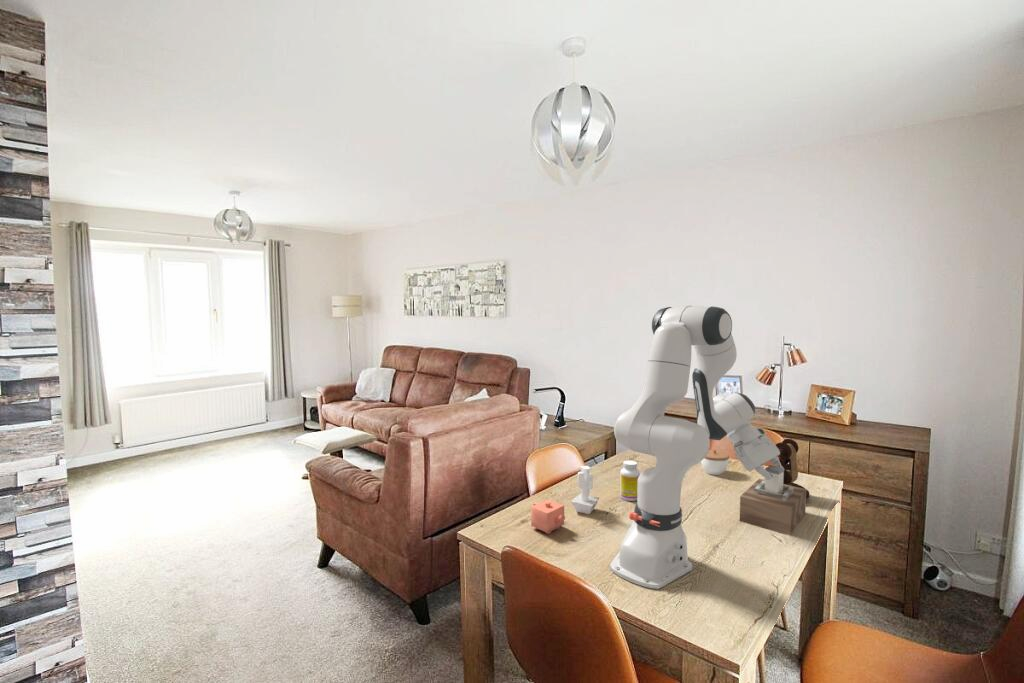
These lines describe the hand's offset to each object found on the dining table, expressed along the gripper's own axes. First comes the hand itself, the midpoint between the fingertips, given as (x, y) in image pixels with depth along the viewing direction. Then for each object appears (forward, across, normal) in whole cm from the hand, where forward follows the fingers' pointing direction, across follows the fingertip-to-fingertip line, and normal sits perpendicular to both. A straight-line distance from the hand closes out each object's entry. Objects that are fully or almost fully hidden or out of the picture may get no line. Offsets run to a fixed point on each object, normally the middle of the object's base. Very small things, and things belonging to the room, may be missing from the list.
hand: (776, 475), depth 148 cm
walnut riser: (+9, 0, +10) cm, 14 cm away
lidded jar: (-13, +25, +32) cm, 43 cm away
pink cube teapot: (-20, -59, +41) cm, 74 cm away
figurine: (-21, -41, +41) cm, 62 cm away
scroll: (+7, +21, +13) cm, 25 cm away
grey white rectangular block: (+4, 0, +5) cm, 6 cm away
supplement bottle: (-18, -21, +38) cm, 48 cm away
